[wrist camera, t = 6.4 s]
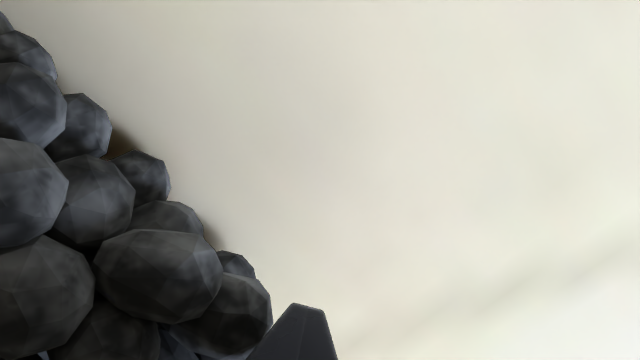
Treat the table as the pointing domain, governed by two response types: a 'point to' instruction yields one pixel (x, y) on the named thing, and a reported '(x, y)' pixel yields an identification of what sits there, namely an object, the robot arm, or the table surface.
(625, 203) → the table surface
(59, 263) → the fruit
